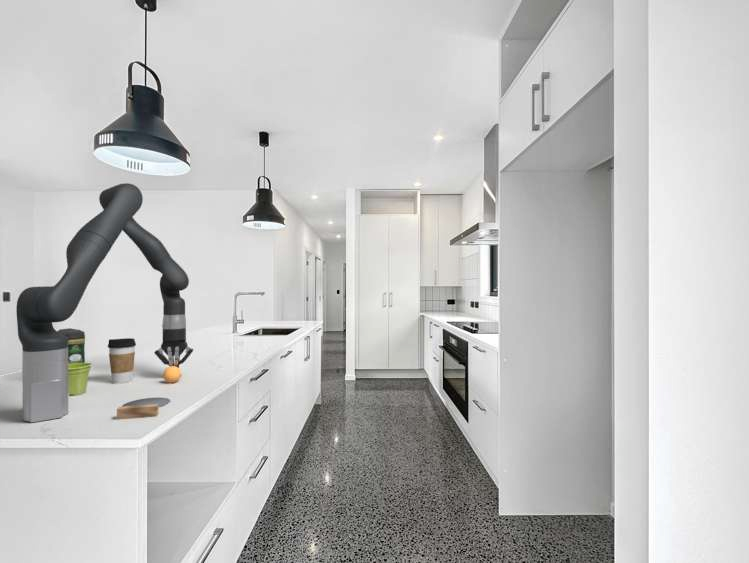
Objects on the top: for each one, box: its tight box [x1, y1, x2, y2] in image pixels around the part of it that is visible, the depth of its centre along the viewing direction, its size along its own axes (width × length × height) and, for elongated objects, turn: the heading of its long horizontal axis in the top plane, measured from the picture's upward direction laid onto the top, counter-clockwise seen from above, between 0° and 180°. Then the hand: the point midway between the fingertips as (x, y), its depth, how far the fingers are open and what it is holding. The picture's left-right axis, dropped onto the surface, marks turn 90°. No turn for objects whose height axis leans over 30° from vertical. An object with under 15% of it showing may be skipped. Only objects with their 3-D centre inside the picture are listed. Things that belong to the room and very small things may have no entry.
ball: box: [162, 366, 182, 384], centre depth 142 cm, size 6×6×6 cm
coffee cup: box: [107, 337, 137, 384], centre depth 143 cm, size 8×8×15 cm
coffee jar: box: [56, 328, 86, 364], centre depth 144 cm, size 10×8×19 cm
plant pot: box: [68, 362, 93, 396], centre depth 128 cm, size 9×9×9 cm
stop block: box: [116, 404, 160, 420], centre depth 105 cm, size 9×2×3 cm, turn 104°
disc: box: [121, 397, 171, 408], centre depth 116 cm, size 12×12×1 cm
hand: (174, 375), depth 147 cm, fingers closed
